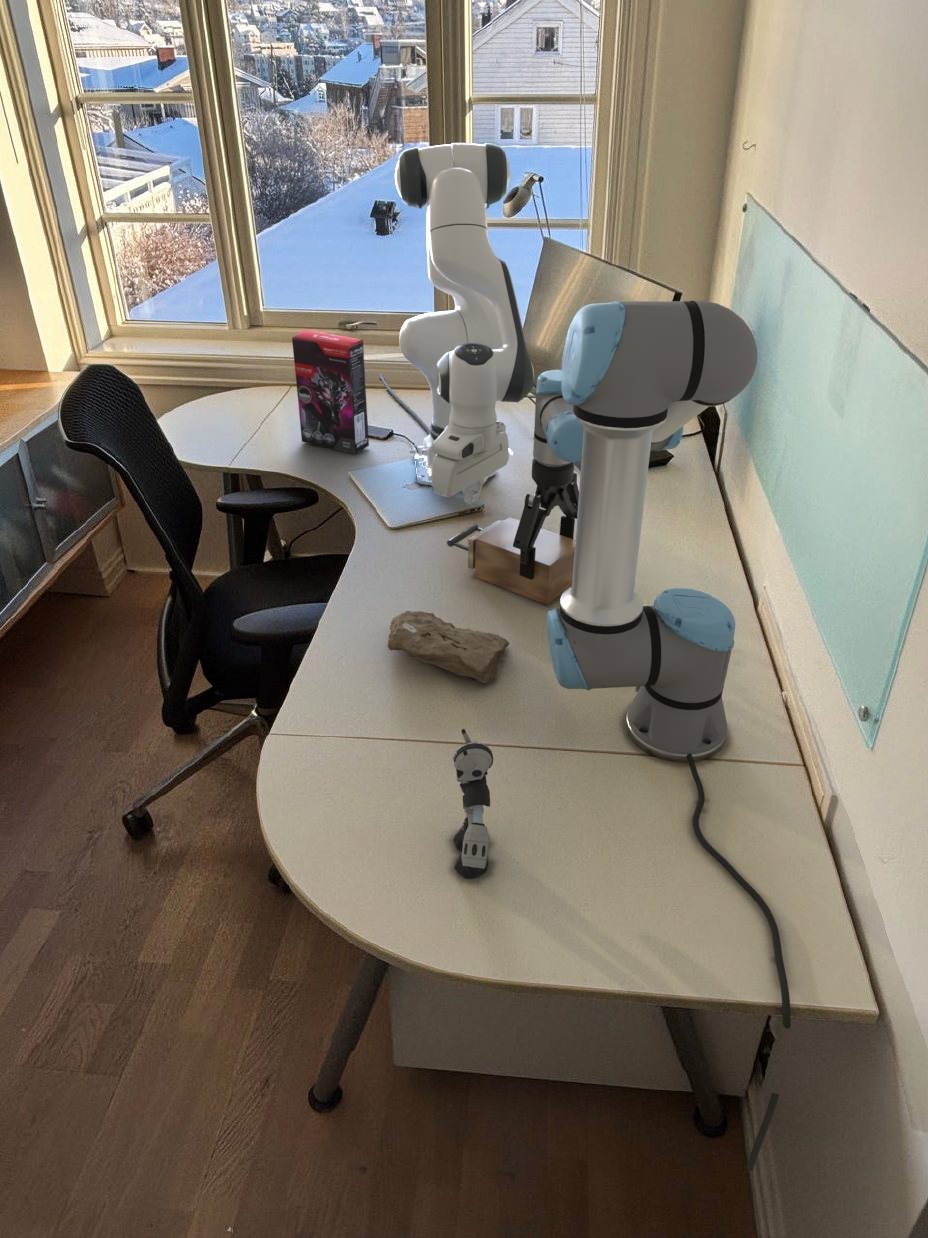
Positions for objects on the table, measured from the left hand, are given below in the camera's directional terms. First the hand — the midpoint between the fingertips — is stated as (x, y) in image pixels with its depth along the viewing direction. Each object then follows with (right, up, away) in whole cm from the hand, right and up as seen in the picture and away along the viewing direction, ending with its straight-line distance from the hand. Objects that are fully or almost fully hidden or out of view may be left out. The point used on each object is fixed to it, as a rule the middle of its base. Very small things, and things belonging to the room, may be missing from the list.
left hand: (471, 500), depth 180 cm
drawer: (+6, -12, +3) cm, 14 cm away
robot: (-1, -54, -58) cm, 80 cm away
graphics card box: (-34, +21, +53) cm, 67 cm away
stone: (-5, -30, -22) cm, 37 cm away
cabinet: (+11, -15, 0) cm, 19 cm away
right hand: (+14, -12, -5) cm, 19 cm away
